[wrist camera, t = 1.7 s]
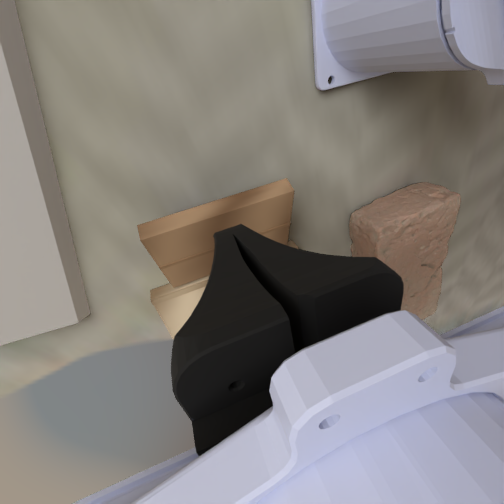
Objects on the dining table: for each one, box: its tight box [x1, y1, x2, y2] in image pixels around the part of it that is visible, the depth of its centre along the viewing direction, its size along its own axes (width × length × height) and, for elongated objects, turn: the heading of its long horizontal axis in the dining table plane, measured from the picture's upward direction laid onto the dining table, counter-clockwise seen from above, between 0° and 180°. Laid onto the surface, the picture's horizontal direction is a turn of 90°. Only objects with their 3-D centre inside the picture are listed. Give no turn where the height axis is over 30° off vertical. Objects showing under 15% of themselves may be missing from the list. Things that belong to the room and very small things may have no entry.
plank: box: [137, 178, 294, 288], centre depth 20 cm, size 10×7×1 cm
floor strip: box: [150, 240, 299, 340], centre depth 25 cm, size 13×6×1 cm, turn 101°
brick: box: [349, 182, 461, 320], centre depth 29 cm, size 16×8×5 cm, turn 17°
